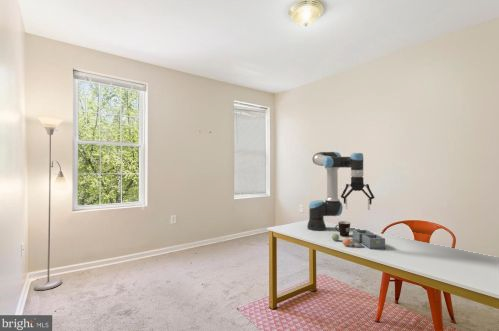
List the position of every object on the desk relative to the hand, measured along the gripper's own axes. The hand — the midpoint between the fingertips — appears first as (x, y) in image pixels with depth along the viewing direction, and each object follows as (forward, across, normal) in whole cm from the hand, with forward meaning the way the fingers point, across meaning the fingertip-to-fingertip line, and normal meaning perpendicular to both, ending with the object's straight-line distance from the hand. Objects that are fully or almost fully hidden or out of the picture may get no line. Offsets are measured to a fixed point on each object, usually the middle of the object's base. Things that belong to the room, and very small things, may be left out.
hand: (357, 209), depth 165 cm
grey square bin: (+25, +5, +16) cm, 30 cm away
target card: (+25, -1, +7) cm, 26 cm away
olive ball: (+25, -14, +11) cm, 30 cm away
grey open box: (+25, +10, +5) cm, 27 cm away
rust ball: (+25, -7, +1) cm, 26 cm away
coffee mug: (+25, -8, +26) cm, 37 cm away
